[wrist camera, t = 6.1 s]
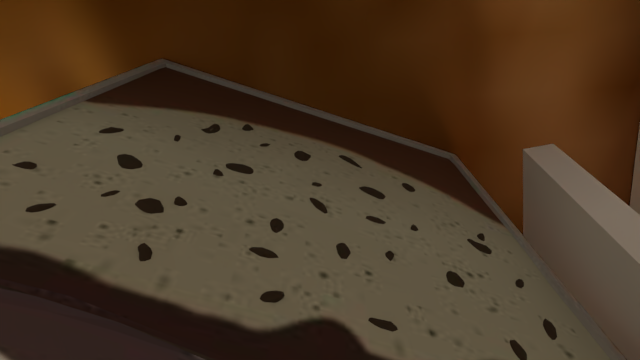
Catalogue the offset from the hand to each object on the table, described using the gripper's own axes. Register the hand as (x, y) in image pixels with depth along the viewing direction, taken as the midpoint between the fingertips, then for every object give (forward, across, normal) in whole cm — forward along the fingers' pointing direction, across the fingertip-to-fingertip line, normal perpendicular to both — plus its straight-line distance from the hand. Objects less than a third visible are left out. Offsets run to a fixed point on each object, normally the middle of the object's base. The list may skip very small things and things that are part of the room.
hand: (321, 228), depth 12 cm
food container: (+3, -1, 0) cm, 3 cm away
